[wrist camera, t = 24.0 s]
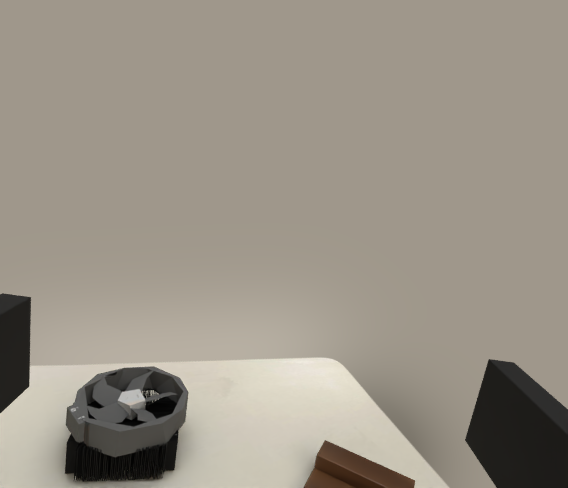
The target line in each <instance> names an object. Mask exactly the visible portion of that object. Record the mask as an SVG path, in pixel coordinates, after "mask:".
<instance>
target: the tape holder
mask: <svg viewBox="0 0 568 488" xmlns="http://www.w3.org/2000/svg"><path fill="white" fill-rule="evenodd" d="M414 485H415V480H413V479H410V478H408V477H406V476H404V475H401V474H399V473H397V472H395V471H393V470H390V469H388V468H386V467H384V466H381V465H379V464H377V463H375V462H373V461H370V460H368V459H366V458H364V457H361V456H359V455H357V454H355V453H353V452H350V451H348V450H346V449H344V448H341V447H339V446H337V445H335V444H333V443H330V442H328V441H326V440H325V441H324V443H323V445H322V447H321V448H320V450H319V452H318V454H317V457H316V462H315V466H314V469H313V471H312V473H311V475H310V477H309V479H308V480H307V482H306V484H305V486H304V488H414Z"/></svg>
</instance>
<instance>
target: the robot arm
mask: <svg viewBox="0 0 568 488" xmlns="http://www.w3.org/2000/svg"><path fill="white" fill-rule="evenodd" d="M30 312H31V297H24V296H16V295H10V294H0V413H1V412H2V411H3V410H4V409H6V408H7V407H8V406H9V405H10V404H11V403H12V402H13V401H14V400H15V399H16V398H17V397H18V396H19V395H20V394H22V393H23V392H24V391H25V390H26V389H27V388H28V387H29V370H30V314H31V313H30ZM465 441H466V442H467V444H468V445H469V447H470V448H471V450H472V451H473V452H474V454H475V456H476V457H477V459H478V460H479V462H480V463H481V465H482V466H483V467H484V469H485V471H486V472H487V474H488V475H489V477H490V478H491V480H492V481H493V483H494V484H495V485H496V487H497V488H568V409H566V408H565V407H564V406H563V405H562V404H561V403H560V402H558V401H557V400H556V399H555V398H554V397H553V396H552V395H550V394H549V393H548V392H547V391H546V390H545V389H544V388H542V387H541V386H540V385H539V384H538V383H537V382H535V381H534V380H533V379H532V378H531V377H530V376H529V375H527V374H526V373H525V372H524V371H523V370H522V369H521V368H519V367H518V366H517V365H516V364H515V363H512V362H505V361H498V360H490V359H489V361H488V364H487V367H486V371H485V374H484V378H483V381H482V384H481V388H480V391H479V395H478V398H477V402H476V405H475V409H474V412H473V415H472V419H471V422H470V425H469V429H468V433H467V436H466V439H465Z"/></svg>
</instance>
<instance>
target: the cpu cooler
mask: <svg viewBox="0 0 568 488" xmlns="http://www.w3.org/2000/svg"><path fill="white" fill-rule="evenodd" d="M147 390H148V393H147V392H146V391H147ZM150 390H154V393H155V394H156V395H153V391H152V395H153V396H151V394H150ZM142 391H143V395H142ZM144 391H145V392H144ZM156 392H157V393H159V395H157V393H156ZM145 394H146V396H147V398H146V396H145ZM148 394H149V396H148ZM155 399H156V401H155ZM158 399H159V400H158ZM152 400H154V402H152ZM187 400H188V391H187V389H186V387H185V386H184V384H183V382H182V381H181V379H180V378H179V377H176V376H174V375H172V374H170V373H167V372H165V371H163V370H160V369H158V368H156V367H135V368H122V369H118V370H114V371H109V372H105V373H101V374H97V375H96V376H95V377H94V378H93V379H91V380H90V381H89V382H88V383H87V384H85V385H84V386H83V387H82V388H80V389H79V390H78V392H77V395H76V399H75V402H74V404H73V405H72V406H69V407H67V417H66V426H67V428H68V429H69V431H70V432H71V434H70V437H69V439H68V441H67V451H66V468H65V473H74V480H75V476H76V480H77V477H78V479H79V476H80V479H81V476H82V479H83V481H84V479H85V480H86V477H87V481H88V478H89V481H90V478H91V481H93V480H94V481H95V480H96V481H97V479H98V481H99V479H100V480H101V476H102V481H103V478H104V481H105V478H106V480H107V478H108V474H109V477H110V480H112V479H113V480H114V479H115V480H116V478H117V480H118V478H119V474H120V476H121V480H122V476H124V471H125V479H126V474H127V477H128V480H129V477H130V472H131V475H132V479H133V475H134V479H135V475H136V479H138V478H139V479H140V477H141V479H142V475H143V479H144V474H145V467H146V472H147V478H148V479H149V476H148V471H149V475H150V468H151V472H152V466H153V470H154V464H155V470H154V479H155V471H156V473H157V468H156V464H157V467H158V474H159V475H160V473H159V467H160V470H161V468H162V469H163V473H164V470H174V468H175V460H176V451H177V443H178V430H179V429H180V427H181V426H182V425H183V424H184V422H185V418H186V409H187ZM145 404H146V405H145ZM148 459H149V460H148ZM146 461H147V464H146ZM151 461H152V465H151ZM153 462H154V464H153ZM149 464H150V466H149ZM142 465H143V466H142ZM147 465H148V469H147ZM140 466H141V467H140ZM125 467H126V468H125ZM131 467H132V470H133V474H132V471H131ZM136 469H137V470H136ZM143 469H144V472H143ZM127 470H128V472H129V475H128V472H127ZM134 470H135V471H134ZM141 471H142V474H141ZM139 472H140V477H139ZM117 473H118V475H117ZM137 474H138V478H137ZM161 474H162V471H161ZM113 475H114V478H113ZM115 475H116V476H115ZM152 476H153V474H152ZM94 477H95V479H94ZM111 477H112V479H111ZM150 477H151V475H150ZM92 478H93V479H92ZM162 478H163V477H162ZM157 479H158V475H157Z"/></svg>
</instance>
